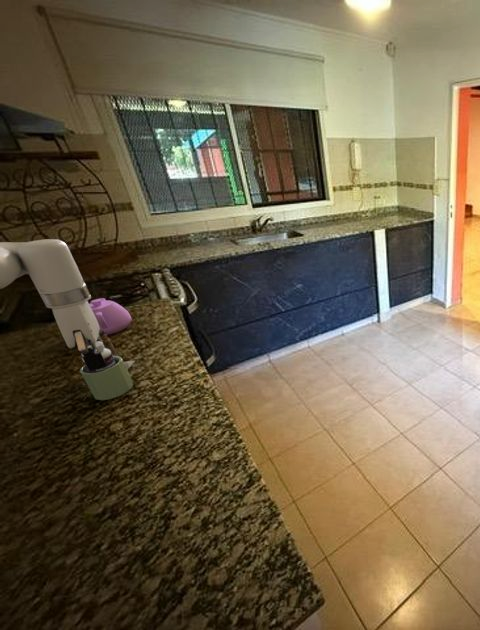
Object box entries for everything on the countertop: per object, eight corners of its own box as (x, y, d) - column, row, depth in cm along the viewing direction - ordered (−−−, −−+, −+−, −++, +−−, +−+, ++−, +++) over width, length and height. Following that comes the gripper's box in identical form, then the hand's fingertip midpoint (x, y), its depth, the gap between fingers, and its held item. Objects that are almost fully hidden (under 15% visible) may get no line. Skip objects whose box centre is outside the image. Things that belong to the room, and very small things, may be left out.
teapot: (132, 312, 130) (121, 286, 125) (134, 332, 116) (122, 303, 111) (83, 322, 122) (70, 295, 118) (80, 345, 108) (64, 315, 104)
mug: (91, 404, 84) (77, 378, 80) (95, 387, 90) (82, 362, 86) (132, 392, 88) (120, 366, 84) (133, 376, 94) (122, 352, 90)
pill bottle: (103, 386, 84) (86, 353, 80) (88, 381, 86) (71, 348, 81) (126, 373, 89) (111, 341, 84) (112, 369, 90) (96, 338, 86)
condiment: (102, 364, 99) (84, 328, 94) (135, 360, 101) (119, 325, 95) (87, 380, 93) (66, 342, 87) (123, 375, 95) (105, 337, 89)
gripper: (51, 287, 81) (84, 352, 89) (33, 313, 69) (74, 385, 77) (92, 281, 85) (121, 343, 93) (83, 304, 73) (116, 374, 81)
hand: (99, 362), depth 85 cm, fingers closed on pill bottle, 5 cm apart
